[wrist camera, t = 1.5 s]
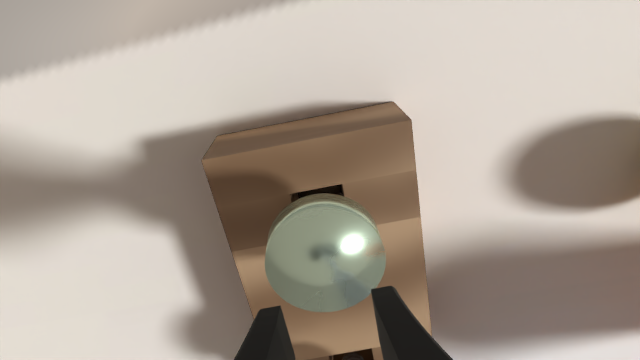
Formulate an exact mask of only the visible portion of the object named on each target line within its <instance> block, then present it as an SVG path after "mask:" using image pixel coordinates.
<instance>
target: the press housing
mask: <svg viewBox="0 0 640 360" xmlns="http://www.w3.org/2000/svg"><path fill="white" fill-rule="evenodd" d="M201 161H202V164H203V167H204V170H205V173H206V176H207V179H208V182H209V185H210V188H211V191H212V194H213V197H214V200H215V203H216V206H217V209H218V212H219V215H220V218H221V221H222V224H223V227H224V230H225V233H226V236H227V239H228V243H229V246H230V249H231V252H232V255H233V258H234V261H235V264H236V267H237V270H238V273H239V276H240V279H241V282H242V285H243V288H244V291H245V294H246V297H247V300H248V303H249V306H250V309H251V312H252V315H253V318H254V319H255V317H256V315H257V313H258V312H259V310H260V309H263V308H269V307H275V306H280V305H281V309H282V312H283V316H284V319H285V323H286V326H287V329H288V333H289V336H290V340H291V343H292V347H293V350H294V354H295V360H342V358H343V357H344V356H345V355H346V354H348V353H351V352H355V353H359V354H360V355H361V356H362V357H363V360H383V355H382V351H381V346H380V342H379V336H378V330H377V324H376V318H375V312H374V306H373V300H372V294H370V295H369V296H368V297H366V298H365V299H364V300H362V301H361V302H359V303H357V304H355V305H353V306H351V307H349V308H346V309H343V310H339V311H333V312H313V311H307V310H304V309H300V308H298V307H295V306H293V305H291V304H290V303H288V302H286V301H285V300H283V299H282V298H281V297H280V296H279V295H278V294H277V293H276V292H275V291H274V289H273V288H272V287H271V285H270V283H269V281H268V279H267V276H266V272H265V254H266V247H267V240H268V234H269V230H270V227H271V225H272V223H273V221H274V220H275V218H276V216H277V215H278V214H279V213H280V212H281V211H282V210H283V209H284V208H285V207H286V206H288V205H289V204H290V203H292V202H294V201H296V200H298V199H299V198H298V193H297V192H302V191H307V190H313V189H318V188H323V187H329V186H334V185H339V184H341V188H342V193H343V196H345V197H347V198H350V199H352V200H354V201H356V202H357V203H359V204H360V205H362V206H363V207H364V208H365V209H366V210H367V211H368V212H369V213H370V215H371V216H372V218H373V219H374V221H375V223H376V226H377V228H378V231H379V234H380V237H381V240H382V243H383V246H384V249H385V254H386V265H385V270H384V274H383V276H382V279H381V281H380V282H379V284H378V286H377V287H376V288H380V287H386V286H393V287H394V288H396V290H397V292H398V293H399V295H400V297H401V298H402V300H403V301H404V303H405V304H406V305H407V307H408V308H409V310H410V311H411V312H412V313H413V315H414V316H415V317H416V319H417V320H418V321H419V322H420V324H421V325H422V326H423V327H424V328H425V330H426V331H427V332H428V333H429V334H430V335H431V336H432V332H431V322H430V311H429V301H428V290H427V279H426V269H425V258H424V248H423V237H422V227H421V216H420V206H419V195H418V184H417V174H416V163H415V153H414V142H413V132H412V121H411V119H410V118H409V117H408V116H407V115H406V114H405V113H404V112H403V111H402V110H401V109H400V108H399V107H398V106H397V105H396V104H395V103H394V102H389V103H384V104H378V105H373V106H368V107H363V108H358V109H353V110H348V111H343V112H337V113H332V114H327V115H322V116H317V117H312V118H307V119H302V120H297V121H291V122H286V123H281V124H276V125H271V126H266V127H261V128H256V129H250V130H245V131H240V132H235V133H230V134H225V135H220V136H217V137H216V139H215V140H214V142H213V143H212V145H211V146H210V148H209V149H208V151H207V152H206V154H205V155H204V157H203V159H202V160H201Z"/></svg>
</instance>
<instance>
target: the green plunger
mask: <svg viewBox="0 0 640 360" xmlns="http://www.w3.org/2000/svg"><path fill="white" fill-rule="evenodd" d="M385 265H386V254H385V249H384V246H383V243H382V240H381V237H380V234H379V231H378V228H377V226H376V223H375V221H374V219H373V218H372V216H371V215H370V213H369V212H368V211H367V210H366V209H365V208H364V207H363V206H362V205H360V204H359V203H357V202H356V201H354V200H352V199H350V198H347V197H345V196H341V195H337V194H329V193H320V194H313V195H309V196H305V197H302V198H300V199H298V200H296V201H294V202H292V203H290V204H289V205H288V206H286V207H285V208H284V209H283V210H282V211H281V212H280V213H279V214H278V215H277V216H276V218H275V220H274V221H273V223H272V225H271V227H270V230H269V234H268V240H267V247H266V254H265V272H266V276H267V279H268V281H269V283H270V285H271V287H272V288H273V289H274V291H275V292H276V293H277V294H278V295H279V296H280V297H281V298H282V299H283V300H285V301H286V302H288V303H290V304H291V305H293V306H295V307H298V308H300V309H304V310H307V311H313V312H333V311H339V310H343V309H346V308H349V307H351V306H353V305H355V304H357V303H359V302H361V301H362V300H364V299H365V298H366V297H368V296H369V295H370V294H371V289H375V288H376V287H377V286H378V284H379V282H380V281H381V279H382V276H383V274H384V270H385Z"/></svg>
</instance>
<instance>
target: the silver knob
mask: <svg viewBox="0 0 640 360" xmlns="http://www.w3.org/2000/svg"><path fill="white" fill-rule="evenodd" d="M342 360H363V357H362V356H361V355H360V354H359V353H355V352H351V353H348V354H346V355H345V356H344V357H343V358H342Z"/></svg>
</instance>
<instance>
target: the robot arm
mask: <svg viewBox="0 0 640 360" xmlns="http://www.w3.org/2000/svg"><path fill="white" fill-rule="evenodd" d="M371 294H372V300H373V306H374V312H375V318H376V324H377V330H378V336H379V342H380V346H381V351H382V355H383V360H453V359H452V358H451V357H450V356H449V355H448V354H447V353H446V352H445V351H444V350H443V349H442V348H441V347H440V345H439V344H438V343H437V342H436V341H435V340H434V339H433V338H432V336H431V335H430V334H429V333H428V332H427V331H426V330H425V328H424V327H423V326H422V325H421V324H420V322H419V321H418V320H417V319H416V317H415V316H414V315H413V313H412V312H411V311H410V310H409V308H408V307H407V305H406V304H405V303H404V301H403V300H402V298H401V297H400V295H399V293H398V292H397V290H396V288H394V287H393V286H386V287H380V288H375V289H371ZM234 360H295V354H294V350H293V347H292V343H291V340H290V336H289V333H288V329H287V326H286V323H285V319H284V316H283V312H282V309H281V305H280V306H275V307H269V308H263V309H260V310H259V312H258V313H257V315H256V317H255V319H254V321H253V324H252V326H251V328H250V330H249V332H248V334H247V336H246V338H245V340H244V342H243V344H242V346H241V348H240V350H239V351H238V353H237V355H236V357H235V359H234Z"/></svg>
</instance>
